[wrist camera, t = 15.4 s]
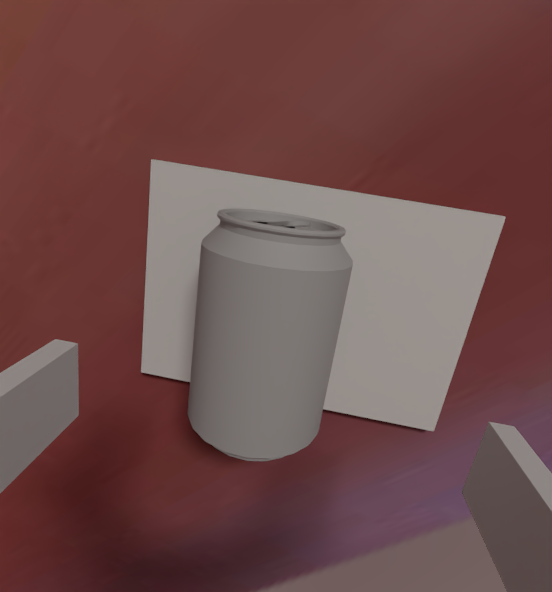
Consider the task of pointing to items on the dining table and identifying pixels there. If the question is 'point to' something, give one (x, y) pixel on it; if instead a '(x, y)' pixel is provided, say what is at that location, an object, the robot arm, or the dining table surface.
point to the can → (265, 331)
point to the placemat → (361, 291)
